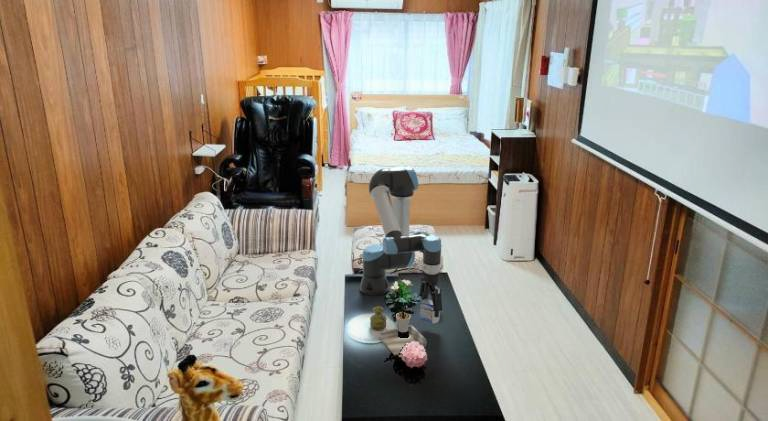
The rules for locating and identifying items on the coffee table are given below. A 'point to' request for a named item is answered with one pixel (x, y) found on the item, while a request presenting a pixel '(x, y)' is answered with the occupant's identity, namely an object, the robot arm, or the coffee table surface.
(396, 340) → the corner arena
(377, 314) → the gold round knobbed cylinder
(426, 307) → the medicine box
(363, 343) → the coffee table surface
